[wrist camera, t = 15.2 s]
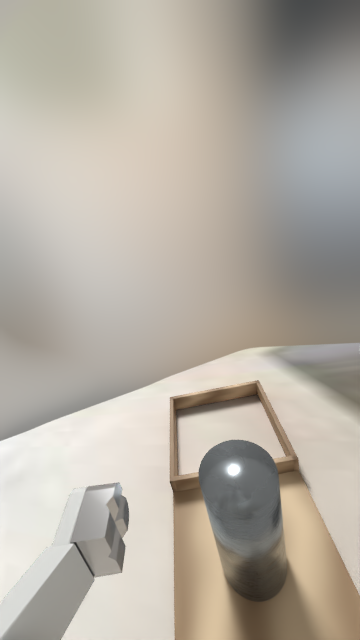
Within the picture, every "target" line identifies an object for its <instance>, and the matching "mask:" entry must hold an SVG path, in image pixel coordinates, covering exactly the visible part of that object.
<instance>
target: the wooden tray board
mask: <svg viewBox="0 0 360 640" xmlns="http://www.w3.org/2000/svg"><path fill="white" fill-rule="evenodd" d="M257 394H258V396H259V398H260V400H261V403H262V405H263V407H264V409H265V411H266V413H267V416H268V418H269V420H270V422H271V424H272V426H273V429H274V431H275V433H276V435H277V437H278V439H279V442H280V444H281V446H282V448H283V450H284V452H285V455H286V457H282V458H276V459H273V460H274V462H275V464H276V466H277V470H278V475H279V485H280V496H281V506H282V516H283V527H284V537H285V547H286V558H287V576H286V581H285V584H284V586H283V588H282V589H281V591H280V592H279V593H278V594H277V595H276V596H275V597H273V598H272V599H270V600H267V601H263V602H256V601H251V600H248V599H246V598H244V597H242V596H241V595H239V594H238V593H237V592H236V591H235V590H234V589H233V588H232V587H231V585H230V584H229V582H228V581H227V579H226V577H225V574H224V571H223V568H222V564H221V561H220V557H219V553H218V550H217V546H216V542H215V539H214V535H213V531H212V527H211V524H210V520H209V516H208V513H207V509H206V505H205V502H204V498H203V494H202V491H201V487H200V483H199V472H197V473H191V474H185V475H180V476H178V458H177V422H176V410H177V409H183V408H188V407H193V406H199V405H204V404H209V403H214V402H220V401H225V400H230V399H235V398H241V397H246V396H251V395H257ZM170 484H171V487H172V490H173V507H174V611H175V640H360V596H359V594H358V591H357V589H356V587H355V585H354V583H353V581H352V579H351V577H350V575H349V573H348V571H347V569H346V567H345V565H344V563H343V561H342V558H341V556H340V554H339V552H338V550H337V548H336V546H335V544H334V542H333V540H332V538H331V536H330V534H329V532H328V530H327V528H326V525H325V523H324V521H323V519H322V517H321V515H320V513H319V511H318V509H317V507H316V505H315V503H314V501H313V499H312V497H311V495H310V492H309V490H308V488H307V486H306V484H305V482H304V480H303V478H302V476H301V474H300V472H299V464H298V457H297V456H296V454H295V452H294V450H293V448H292V446H291V444H290V442H289V440H288V438H287V436H286V434H285V432H284V430H283V428H282V426H281V424H280V422H279V420H278V418H277V416H276V414H275V412H274V410H273V408H272V406H271V404H270V402H269V400H268V398H267V396H266V394H265V392H264V390H263V388H262V386H261V384H260V382H259V380H258V381H252V382H247V383H242V384H237V385H232V386H226V387H221V388H216V389H211V390H206V391H200V392H195V393H190V394H185V395H180V396H174V397H170Z"/></svg>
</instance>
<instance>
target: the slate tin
mask: <svg viewBox="0 0 360 640" xmlns="http://www.w3.org/2000/svg"><path fill="white" fill-rule="evenodd" d="M199 483H200V487H201V491H202V494H203V498H204V502H205V505H206V509H207V513H208V516H209V520H210V524H211V527H212V531H213V535H214V539H215V542H216V546H217V550H218V553H219V557H220V561H221V564H222V568H223V571H224V574H225V577H226V579H227V581H228V582H229V584H230V585H231V587H232V588H233V589H234V590H235V591H236V592H237V593H238V594H239V595H241V596H242V597H244V598H246V599H248V600H251V601H256V602H263V601H267V600H270V599H272V598H273V597H275V596H276V595H277V594H278V593H279V592H280V591H281V589H282V588H283V586H284V584H285V581H286V576H287V558H286V547H285V537H284V527H283V516H282V506H281V496H280V485H279V475H278V470H277V466H276V464H275V462H274V460H273V459H272V457H271V456H270V455H269V453H268V452H267V451H265V450H264V449H263V448H262V447H260V446H258V445H257V444H254V443H252V442H249V441H244V440H229V441H225V442H222V443H220V444H218V445H216V446H214V447H213V448H212V449H210V450H209V451H208V452H207V453H206V455H205V456H204V458H203V460H202V461H201V464H200V468H199Z"/></svg>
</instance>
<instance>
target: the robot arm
mask: <svg viewBox="0 0 360 640" xmlns="http://www.w3.org/2000/svg"><path fill="white" fill-rule="evenodd" d="M121 493H122V487H121V485H120V483H111V484H104V485H96V486H88V487H81V488H74V489H73V490H72V492H71V493H70V495H69V498H68V500H67V503H66V506H65V509H64V512H63V515H62V517H61V520H60V523H59V526H58V529H57V532H56V535H55V537H54V540H53V543H52V546H50V547H46V549H45V550H44V551H43V552H42V553H41V555H40V556H39V557H38V558H37V559H36V560H35V562H34V563H33V564H32V565H31V566H30V568H29V569H28V570H27V571H26V572H25V574H24V575H23V576H22V577H21V578H20V580H19V581H18V582H17V583H16V584H15V585H14V587H13V588H12V589H11V590H10V591H9V593H8V594H7V595H6V596H5V597H4V599H3V600H2V601H1V602H0V640H61V638H62V636H63V635H64V633H65V631H66V629H67V628H68V626H69V624H70V622H71V621H72V619H73V617H74V615H75V613H76V612H77V610H78V608H79V606H80V605H81V603H82V601H83V599H84V598H85V596H86V594H87V592H88V591H89V589H90V587H91V585H92V583H93V582H94V580H95V579H94V577H100V576H106V575H112V574H117V573H122V568H123V561H124V554H125V544H124V542H123V540H122V538H123V536H124V535H125V533H126V532H127V530H128V522H129V508H128V503H127V500H126V498H125V497H124V496H122V495H121Z"/></svg>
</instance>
